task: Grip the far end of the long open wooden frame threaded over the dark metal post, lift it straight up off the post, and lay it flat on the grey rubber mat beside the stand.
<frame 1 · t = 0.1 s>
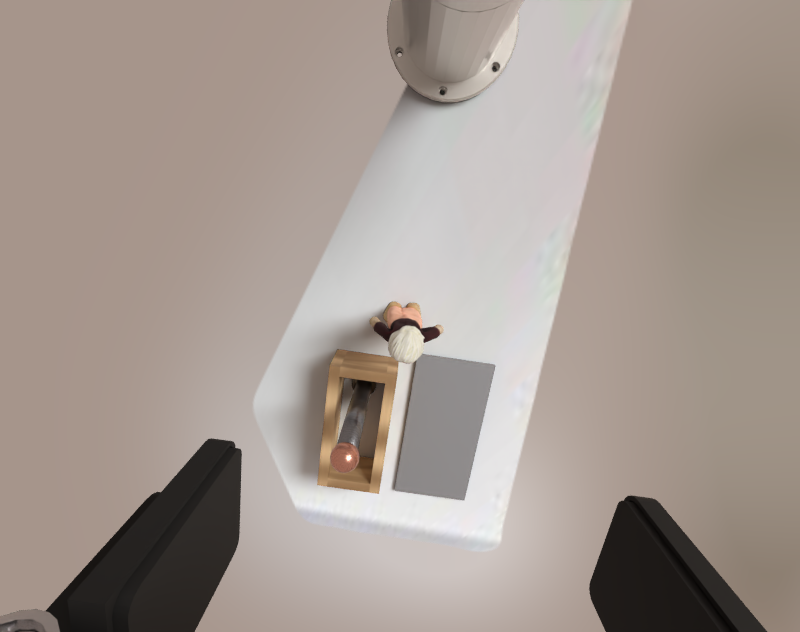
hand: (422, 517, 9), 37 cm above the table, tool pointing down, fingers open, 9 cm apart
rubber mat: (441, 429, 50), on the table
open wooden frame: (360, 410, 50), on the table
post stand: (364, 383, 49), on the table
grandmother figurine: (407, 313, 46), on the table
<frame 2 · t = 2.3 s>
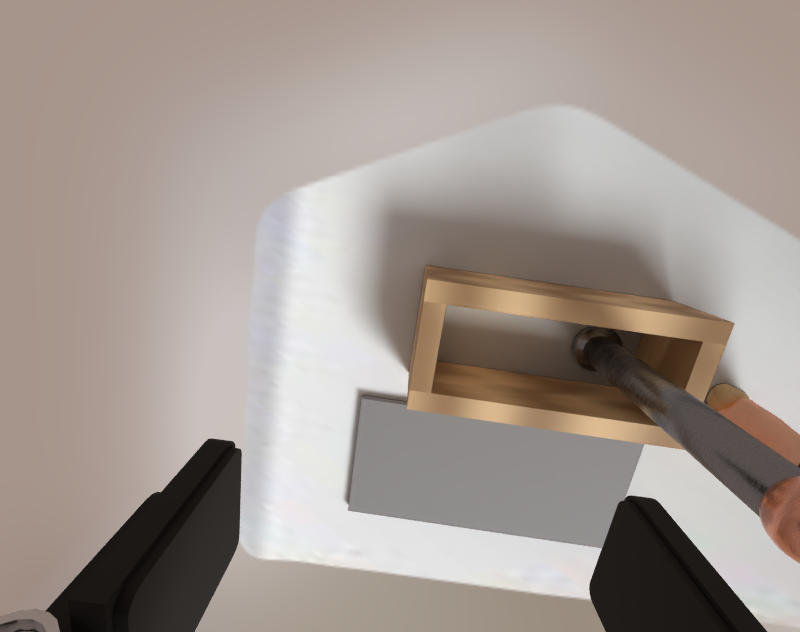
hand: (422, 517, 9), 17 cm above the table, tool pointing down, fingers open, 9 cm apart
rubber mat: (488, 472, 29), on the table
open wooden frame: (535, 338, 26), on the table
post stand: (594, 347, 26), on the table
grandmother figurine: (716, 419, 27), on the table
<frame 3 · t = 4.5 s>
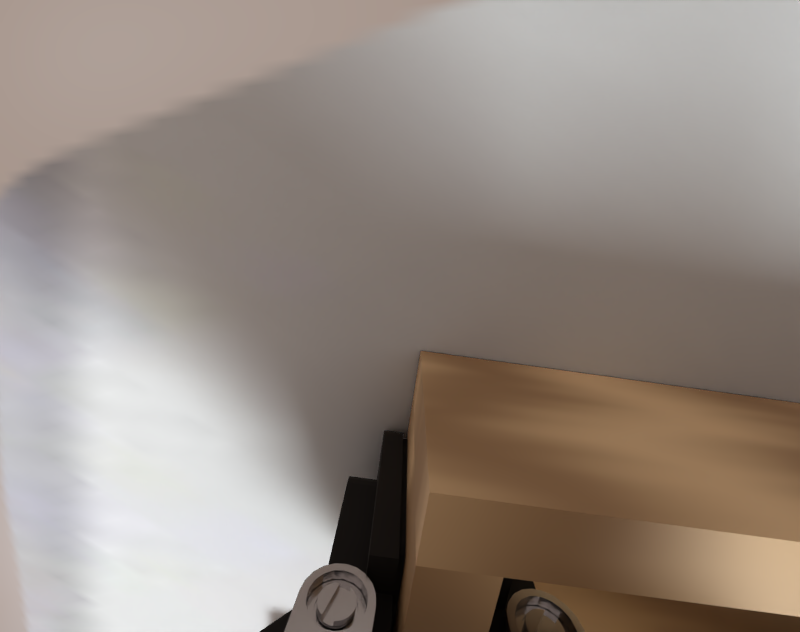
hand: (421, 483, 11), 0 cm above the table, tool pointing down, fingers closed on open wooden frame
open wooden frame: (683, 515, 11), on the table, touching gripper
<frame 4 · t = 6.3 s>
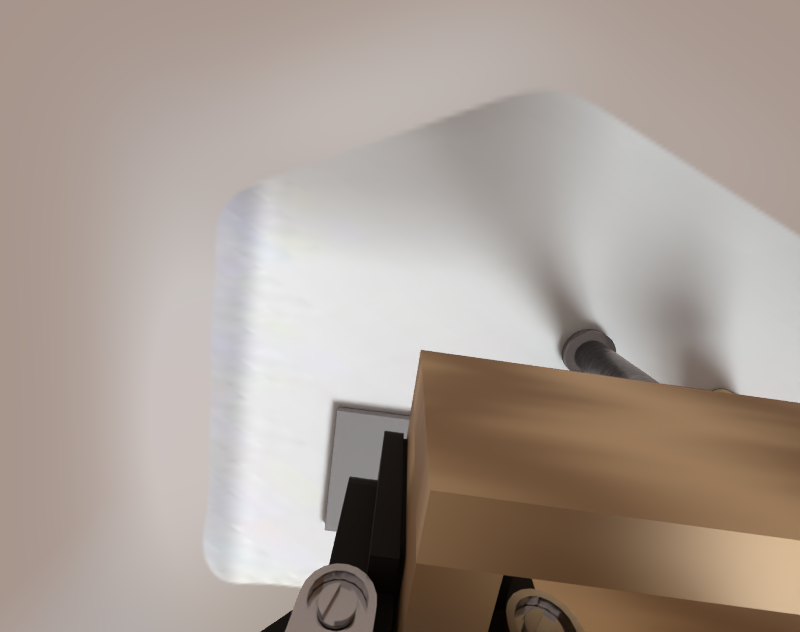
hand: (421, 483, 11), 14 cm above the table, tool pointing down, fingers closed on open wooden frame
rubber mat: (474, 486, 27), on the table
open wooden frame: (682, 514, 11), point 14 cm above the table, touching gripper
post stand: (586, 352, 24), on the table
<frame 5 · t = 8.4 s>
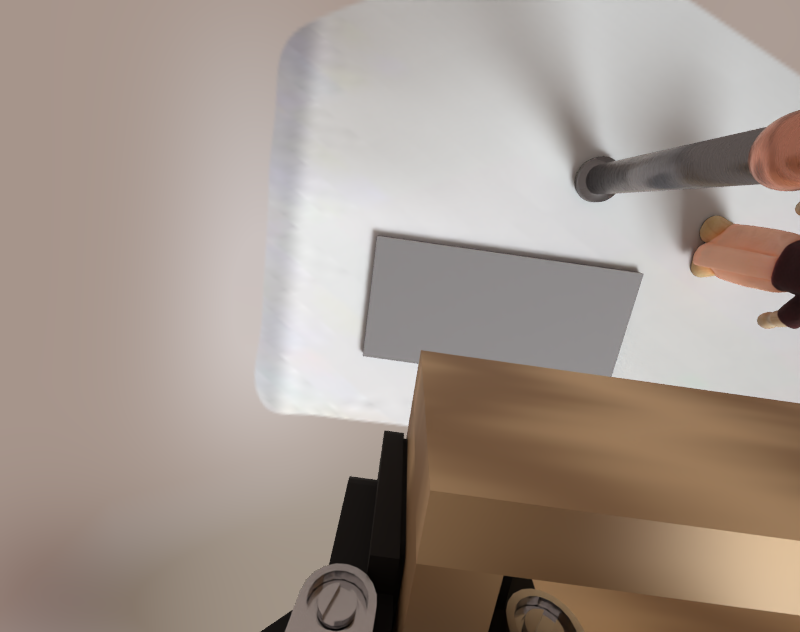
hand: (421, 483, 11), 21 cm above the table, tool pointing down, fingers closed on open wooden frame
rubber mat: (496, 314, 30), on the table
open wooden frame: (682, 515, 11), point 20 cm above the table, touching gripper
post stand: (596, 180, 28), on the table
grandmother figurine: (709, 254, 29), on the table
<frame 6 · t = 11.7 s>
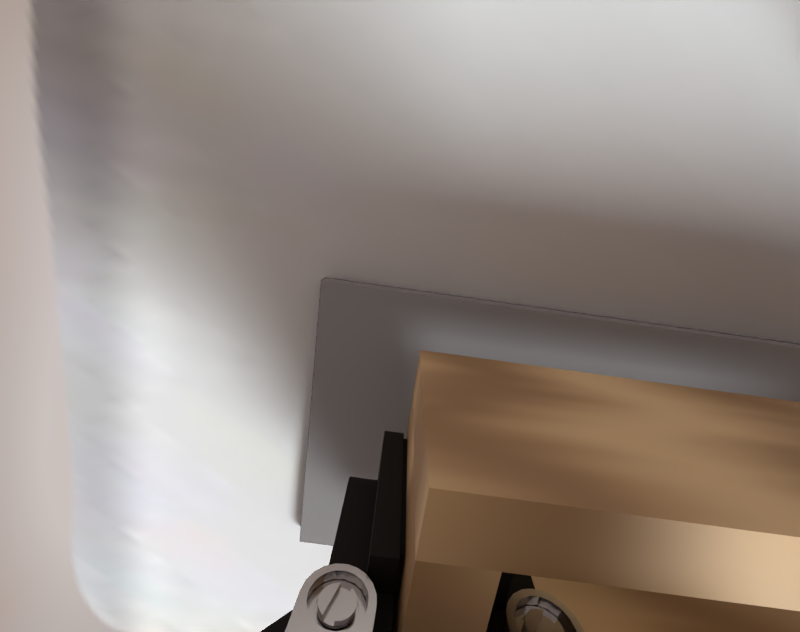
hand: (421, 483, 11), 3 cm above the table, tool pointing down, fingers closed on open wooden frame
rubber mat: (603, 456, 13), on the table
open wooden frame: (681, 513, 11), point 2 cm above the table, touching gripper
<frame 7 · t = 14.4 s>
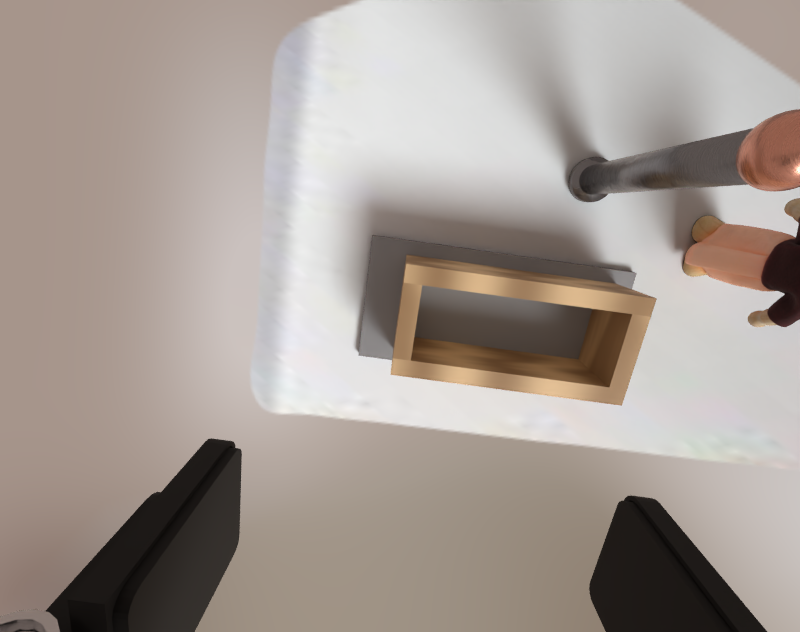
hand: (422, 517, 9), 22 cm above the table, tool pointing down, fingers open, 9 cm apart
rubber mat: (491, 314, 31), on the table
open wooden frame: (501, 317, 30), resting on rubber mat
post stand: (589, 180, 28), on the table
grandmother figurine: (701, 254, 29), on the table
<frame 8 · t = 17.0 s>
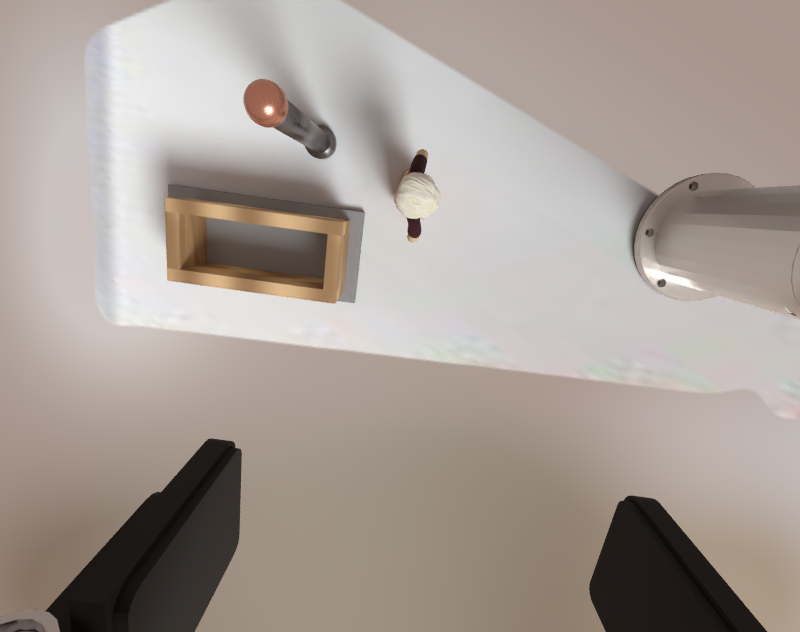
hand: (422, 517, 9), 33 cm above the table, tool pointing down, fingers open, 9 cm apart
rubber mat: (266, 245, 41), on the table
open wooden frame: (271, 246, 41), resting on rubber mat
post stand: (321, 142, 38), on the table
grandmother figurine: (413, 198, 40), on the table
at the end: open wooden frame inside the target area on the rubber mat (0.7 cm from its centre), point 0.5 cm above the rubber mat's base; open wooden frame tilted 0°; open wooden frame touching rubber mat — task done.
